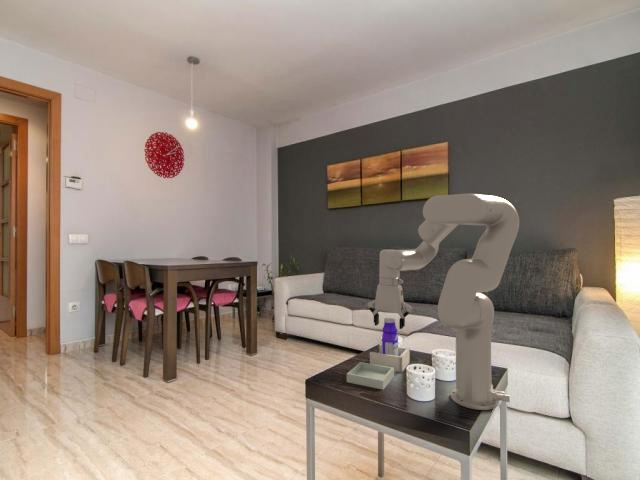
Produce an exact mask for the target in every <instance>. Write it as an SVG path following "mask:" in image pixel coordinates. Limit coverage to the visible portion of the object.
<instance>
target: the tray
mask: <svg viewBox="0 0 640 480" xmlns="http://www.w3.org/2000/svg"><path fill="white" fill-rule="evenodd" d="M394 377H395V372H394V368H392V367H387V366H381V365H375V364H370V362H369V363H368V362H363V361H360V362H358V363H357V364H356V365H355V366H354V367H353V368H351V369H350V370H349V371H348V372H347V373H346V383H349V384H354V385H359V386H363V387H369V388H373V389H378V390H385V388H386V387H387V386H388V385H389V383H390V382H391V381H392V379H393V378H394Z"/></svg>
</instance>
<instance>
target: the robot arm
mask: <svg viewBox="0 0 640 480" xmlns="http://www.w3.org/2000/svg"><path fill="white" fill-rule="evenodd" d="M422 216H423V218H424V219H425V220H424V221H423V222H422V223H421V224H420V225H419V226H418V228H417V232H418V236H419V237H420V238H421V240H422V242H421V243H420V244H419V245H418V246H417V247H416V248H414V249H382V250H380V252H379V274H378V275H379V278H378V279H379V283H378V284H377V287H376V293H375V299H372V300H371V301H369V302H367V303H366V304H367V307H368V309H369V311H370V312H371V313H372V315H373V323H374V326H379V324H380V314H379V312H385V313H394V314H395V313H396V314H398V315H399V317H400V318H399V325H398V326H399V329H400V330H403V328H404V327H405V326H406V325H405V322H406V320H405V319H406V317H407V316H408V315H409V314H410V313H411V311H412V309H413V307H412V306H411V305H410V304H408V303H407V302H405V301H404V291H403V286H402V285H401V284H404V279H401V277H400V276H401V275H400V272H404V271H417V270H420V269H423V268H424V267H425V266H427V265H428V264H429V263H430V262H431V261H432V260H433V259H434V258H435V257H436V256H437V253H438V251H439V247H440V246H439V245H440V243H441V242H442V241H443V240H444V239H445V238H446V237H447V236H448V235H449V234H450V233H452V231H453V230H455V228H457V227H458V226H459V225H464V226H465V225H468V226H485V231H483V233H482V234H481V236H480V238H479V239H478V241H477V244H476V248H475V250H474V253H473V255H472V257H471V258H467V259H466V258H465V259H460V260H458V261H456V262H454V263H453V264H452V265H451V266H450V268H449V269H448V271H447V274H446V276H445V279H444V280H445V281H444V283H443V286H442V290H441V292H440V296H439V300H438V302H437V303H438V304H437V317H438V318H439V321H440V323H441V325H443V326H444V327H446V328H448V329H450V330H456V333H455V388H453V389H452V390H451V391H450V398H451V401H453V402H454V403H456V404H457V405H459V406H462V407H464V408H467V409H472V410H477V411H489V410H493V409H495V408H497V407H498V403H499V401H500V402H504V403H510V402H511V401H510V397H511V396H510V394H506V393H505V391H502V390H496V389H495V388H494V385H493V384H492V329H493V324H494V318H495V307H494V304H493V302H492V300H491V299H490V298H489V296H487V295H486V294H484V293H487V292H491V291H493V290H496V288H497V287H499V285H500V282H501V280H502V277H503V274H504V271H505V269H506V266H507V263H508V261H509V258H510V253H511V251H512V249H513V245H514V244H515V240H516V238H517V235H518V233H519V228H520V217H519V214H518V211H517V209H516V208H515V206H514V205H513V204H512V203H511V202H509V201H508V200H506V199H504V198H502V197H499V196H496V195H490V194H489V195H488V194H480V193H479V194H478V193H457V194H442V195H434V196H432V197H430V198H428V199H427V200H426V201H425V203H424V205H423V209H422ZM373 304H374V305H375V306H374V305H373ZM373 306H374V307H375V308H374V307H373ZM404 308H406V311H405V312H404Z"/></svg>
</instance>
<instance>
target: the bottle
mask: <svg viewBox="0 0 640 480" xmlns="http://www.w3.org/2000/svg"><path fill="white" fill-rule="evenodd" d="M383 324H384V325H383V328H382V335H381V344H382V354H388V355H394V356H398V347H399V335H398V328H397V326H396V318H395V317H390V316H389V317H387V316H386V317H384V323H383Z"/></svg>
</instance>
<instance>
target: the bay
mask: <svg viewBox="0 0 640 480" xmlns="http://www.w3.org/2000/svg"><path fill="white" fill-rule="evenodd" d="M378 345H379V346H378V352H374V351H370V352H369V364H375V365H381V366H387V367H392V368H394V373H398V374H403V372H404V371H405V370H406V369H407V367H408V366H409V364H410V362H411V351H410V350H411V349H410V347H409V348H408V347H402V346H398V356H394V355H388V354H382V343H381V344H378ZM407 365H408V366H407ZM406 366H407V367H406Z"/></svg>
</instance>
